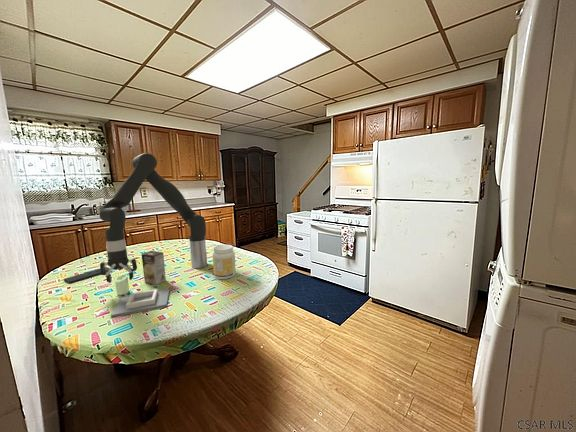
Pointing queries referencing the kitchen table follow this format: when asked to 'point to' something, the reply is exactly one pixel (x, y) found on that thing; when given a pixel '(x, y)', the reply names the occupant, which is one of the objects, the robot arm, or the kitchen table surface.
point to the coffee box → (153, 267)
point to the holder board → (141, 302)
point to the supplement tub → (224, 262)
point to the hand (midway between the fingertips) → (120, 280)
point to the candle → (122, 285)
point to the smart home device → (84, 276)
